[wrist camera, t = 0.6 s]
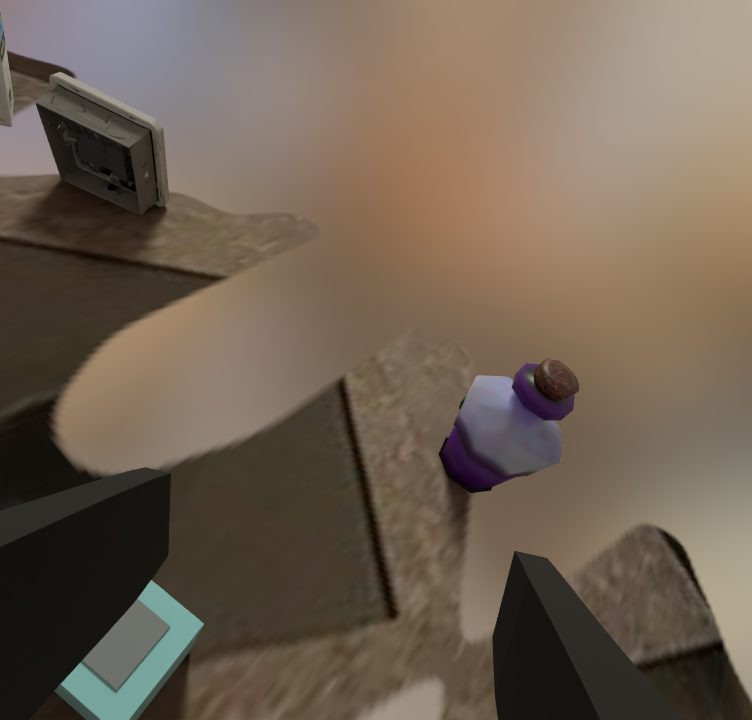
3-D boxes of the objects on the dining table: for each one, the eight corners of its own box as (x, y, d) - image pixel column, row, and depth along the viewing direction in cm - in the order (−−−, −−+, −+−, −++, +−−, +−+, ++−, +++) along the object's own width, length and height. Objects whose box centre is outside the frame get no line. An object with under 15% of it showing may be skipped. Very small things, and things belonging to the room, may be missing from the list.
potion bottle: (462, 409, 41) (542, 318, 34) (527, 482, 38) (632, 401, 30) (403, 442, 35) (484, 342, 28) (475, 532, 32) (588, 447, 25)
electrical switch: (170, 206, 44) (174, 117, 38) (141, 231, 41) (139, 136, 34) (80, 164, 43) (67, 63, 37) (41, 185, 40) (20, 78, 33)
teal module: (116, 746, 18) (117, 734, 15) (12, 653, 19) (-10, 621, 15) (189, 651, 21) (204, 623, 18) (98, 574, 22) (95, 533, 18)
